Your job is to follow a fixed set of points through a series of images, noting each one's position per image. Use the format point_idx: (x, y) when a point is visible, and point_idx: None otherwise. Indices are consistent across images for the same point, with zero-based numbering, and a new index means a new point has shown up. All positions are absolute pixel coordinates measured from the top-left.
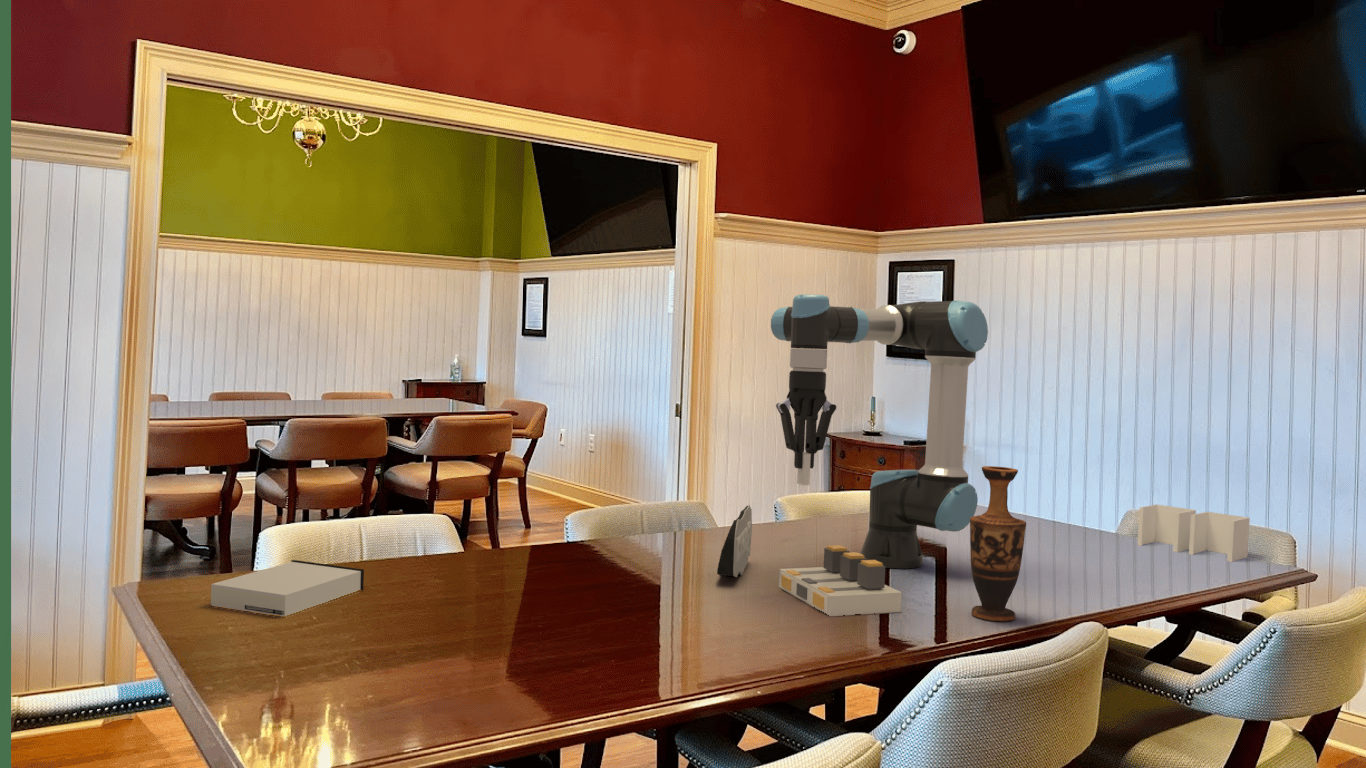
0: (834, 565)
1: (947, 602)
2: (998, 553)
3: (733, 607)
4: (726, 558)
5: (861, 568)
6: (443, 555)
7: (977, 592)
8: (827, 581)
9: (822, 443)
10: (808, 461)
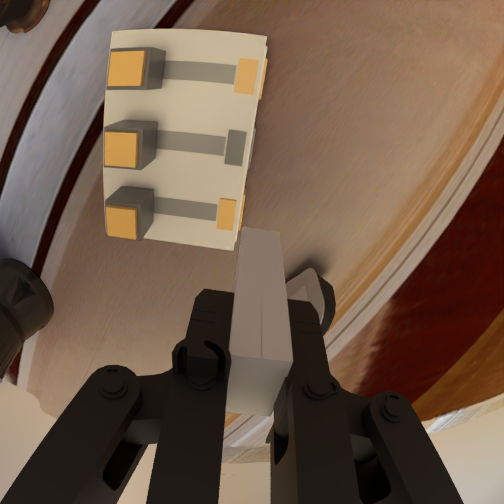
0: (145, 193)
1: (32, 81)
2: None
3: (384, 156)
4: (326, 290)
5: (150, 74)
6: (452, 409)
7: (21, 8)
8: (200, 134)
9: (88, 410)
10: (248, 311)
